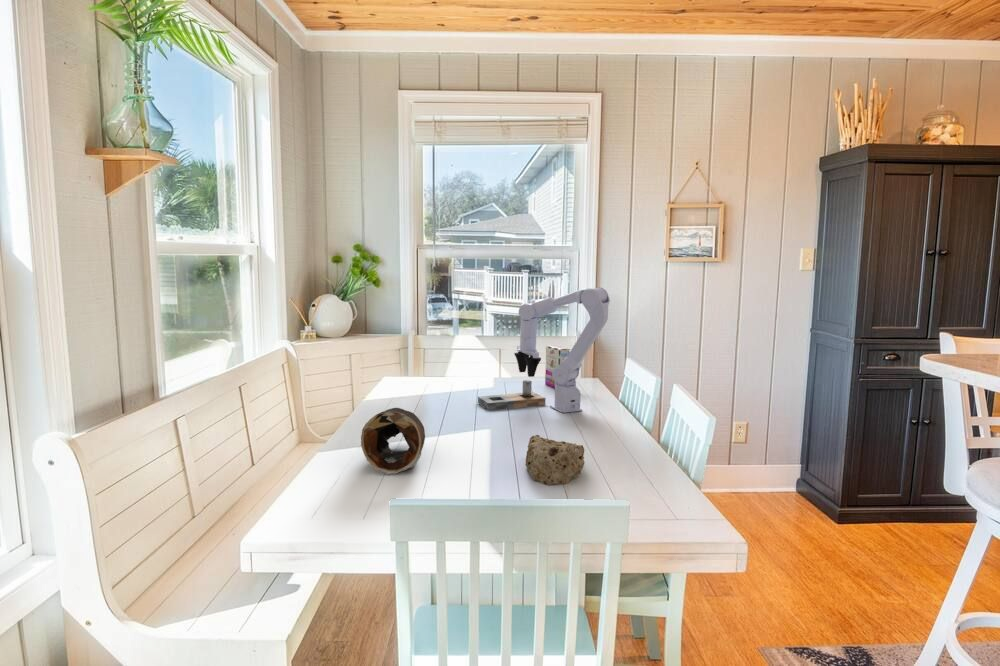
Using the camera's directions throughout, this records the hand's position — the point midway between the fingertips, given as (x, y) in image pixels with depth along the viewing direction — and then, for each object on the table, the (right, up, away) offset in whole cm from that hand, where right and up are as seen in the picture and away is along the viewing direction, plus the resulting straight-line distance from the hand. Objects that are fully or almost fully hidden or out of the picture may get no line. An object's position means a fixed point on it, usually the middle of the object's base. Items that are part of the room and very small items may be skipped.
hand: (526, 374), depth 215 cm
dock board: (-5, -11, -1) cm, 12 cm away
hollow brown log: (-36, -18, -59) cm, 72 cm away
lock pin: (0, -10, +1) cm, 10 cm away
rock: (+4, -20, -67) cm, 70 cm away
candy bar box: (+13, -7, +28) cm, 32 cm away
